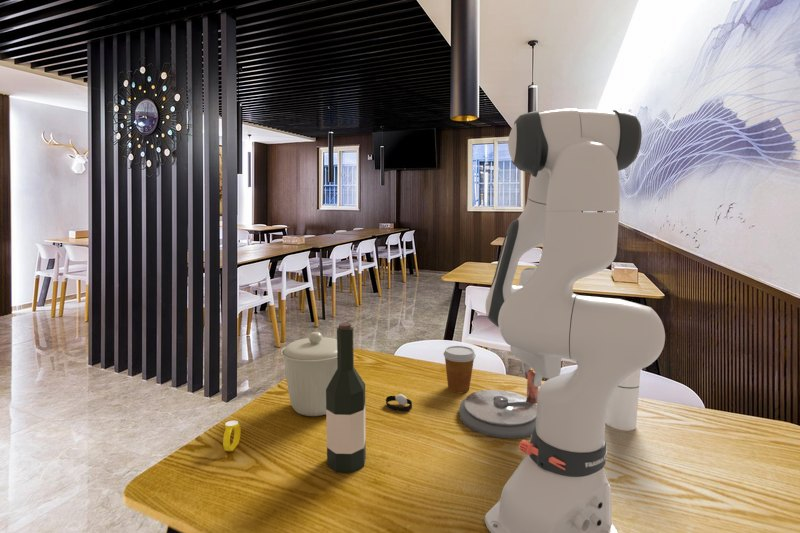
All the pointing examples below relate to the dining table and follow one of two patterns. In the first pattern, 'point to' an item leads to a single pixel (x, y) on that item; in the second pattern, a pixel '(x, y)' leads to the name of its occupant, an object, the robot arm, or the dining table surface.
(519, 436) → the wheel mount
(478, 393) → the handwheel
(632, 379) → the cylindrical container
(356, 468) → the wine bottle
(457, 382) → the disposable coffee cup
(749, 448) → the dining table surface
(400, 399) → the watch
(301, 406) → the canister
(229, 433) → the watch
